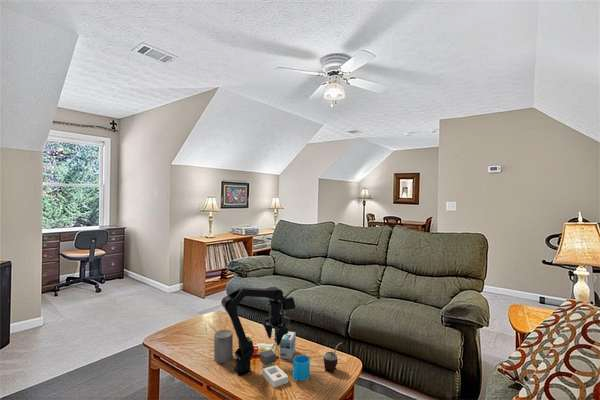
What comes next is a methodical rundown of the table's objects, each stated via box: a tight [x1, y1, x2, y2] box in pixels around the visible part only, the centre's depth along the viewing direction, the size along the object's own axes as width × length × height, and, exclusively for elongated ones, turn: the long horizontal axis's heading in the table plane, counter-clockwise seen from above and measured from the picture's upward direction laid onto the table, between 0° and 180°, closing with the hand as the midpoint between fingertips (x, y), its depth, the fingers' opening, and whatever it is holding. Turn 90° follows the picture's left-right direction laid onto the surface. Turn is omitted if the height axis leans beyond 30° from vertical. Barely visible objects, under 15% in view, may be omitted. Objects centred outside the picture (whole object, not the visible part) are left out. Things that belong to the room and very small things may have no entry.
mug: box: [292, 354, 311, 381], centre depth 152 cm, size 12×8×8 cm
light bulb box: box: [279, 330, 297, 360], centre depth 175 cm, size 11×7×11 cm, turn 168°
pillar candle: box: [213, 329, 234, 364], centre depth 169 cm, size 10×10×15 cm
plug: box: [259, 349, 277, 368], centre depth 162 cm, size 6×6×7 cm
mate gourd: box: [323, 342, 343, 374], centre depth 160 cm, size 8×8×15 cm
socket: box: [261, 364, 289, 389], centre depth 151 cm, size 8×12×4 cm, turn 33°
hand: (273, 341), depth 165 cm, fingers open, 9 cm apart
